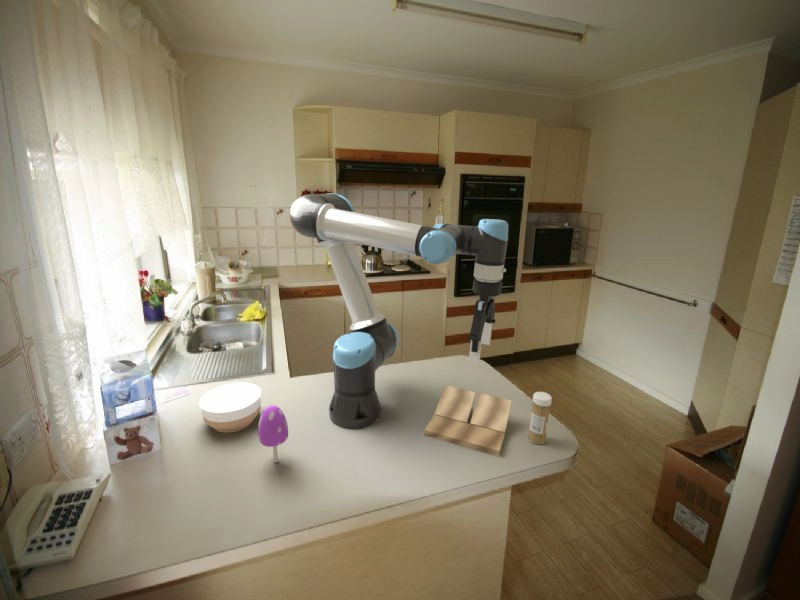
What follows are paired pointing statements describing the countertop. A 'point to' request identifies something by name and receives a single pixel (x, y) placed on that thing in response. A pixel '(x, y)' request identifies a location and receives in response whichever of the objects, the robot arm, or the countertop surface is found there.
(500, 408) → the plank
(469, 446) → the laid board
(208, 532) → the countertop surface
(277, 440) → the toy
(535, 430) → the sprinkles bottle
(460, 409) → the plank
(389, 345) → the robot arm
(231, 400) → the bowl
